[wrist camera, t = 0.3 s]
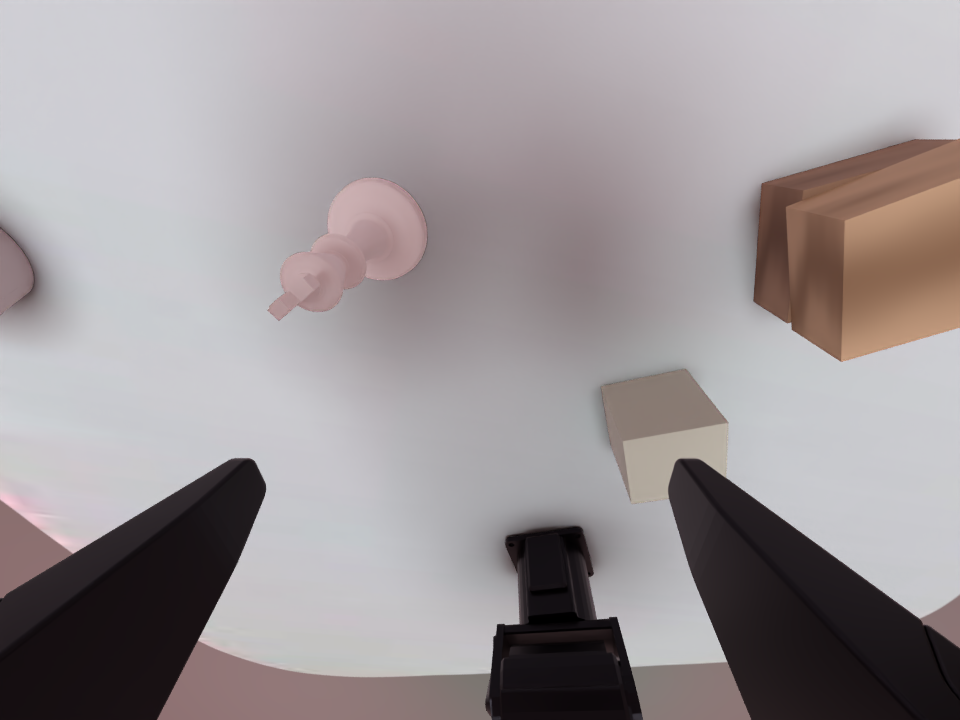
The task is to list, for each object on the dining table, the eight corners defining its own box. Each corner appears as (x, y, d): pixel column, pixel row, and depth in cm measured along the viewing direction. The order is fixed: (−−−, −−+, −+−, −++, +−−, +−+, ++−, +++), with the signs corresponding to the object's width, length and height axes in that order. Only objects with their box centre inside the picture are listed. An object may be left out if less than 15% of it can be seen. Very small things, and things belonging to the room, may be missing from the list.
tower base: (878, 269, 19) (937, 290, 17) (750, 299, 20) (787, 323, 18) (909, 139, 16) (986, 139, 14) (758, 182, 17) (802, 190, 15)
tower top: (944, 281, 16) (1028, 307, 14) (791, 329, 18) (841, 361, 15) (968, 135, 14) (1077, 134, 11) (785, 206, 15) (844, 220, 13)
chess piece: (310, 220, 19) (153, 290, 10) (379, 153, 17) (258, 171, 9) (379, 295, 21) (294, 405, 12) (447, 241, 19) (403, 326, 11)
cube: (686, 429, 25) (725, 490, 20) (609, 443, 26) (631, 504, 21) (685, 367, 22) (728, 422, 18) (600, 385, 23) (622, 441, 19)
